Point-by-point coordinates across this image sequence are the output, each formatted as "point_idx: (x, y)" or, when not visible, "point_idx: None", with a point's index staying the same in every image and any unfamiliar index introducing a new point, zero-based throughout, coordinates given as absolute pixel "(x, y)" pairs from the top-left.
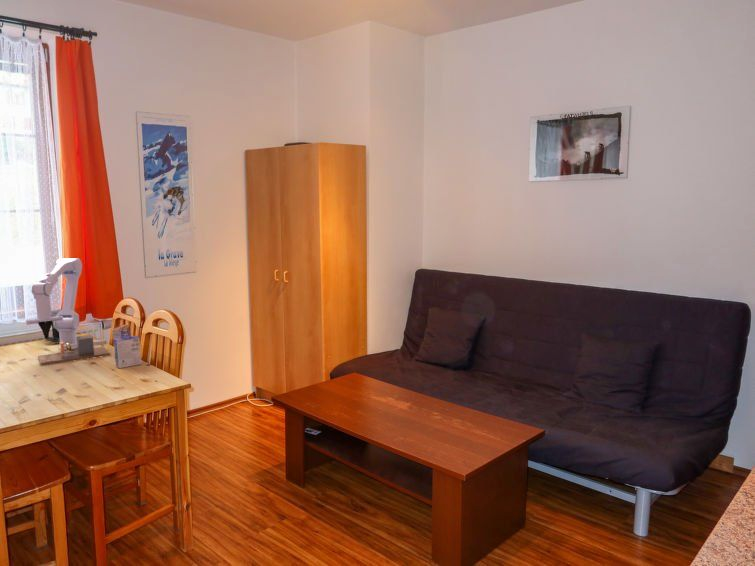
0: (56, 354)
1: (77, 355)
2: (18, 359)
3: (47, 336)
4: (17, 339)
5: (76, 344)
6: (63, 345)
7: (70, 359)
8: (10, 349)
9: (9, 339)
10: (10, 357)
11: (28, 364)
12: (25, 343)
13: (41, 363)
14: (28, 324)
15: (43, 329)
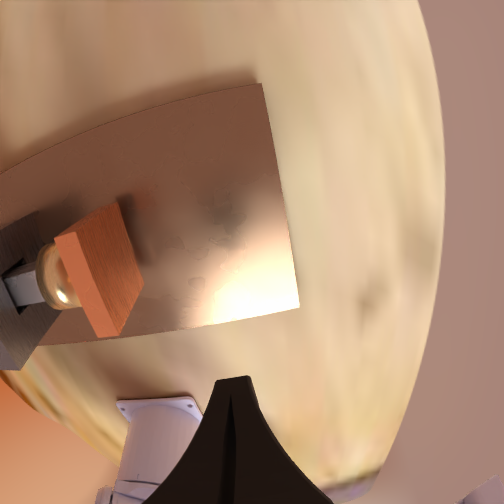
0: (182, 298)
1: (43, 214)
2: (390, 311)
3: (221, 392)
4: (347, 495)
5: (13, 276)
6: (66, 230)
7: (70, 140)
8: (384, 440)
9: (363, 493)
10: (411, 354)
11: (344, 162)
12: (334, 479)
13: (254, 84)
14: (482, 485)
15: (266, 463)
